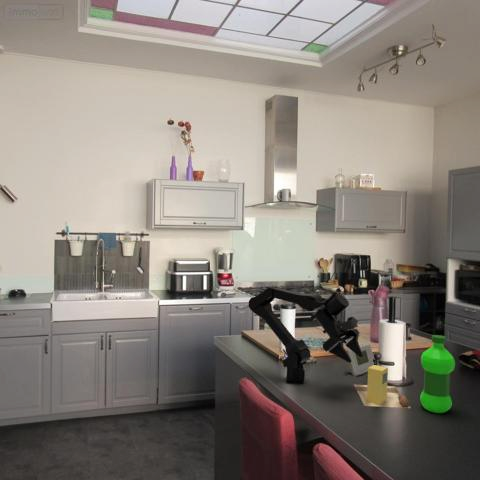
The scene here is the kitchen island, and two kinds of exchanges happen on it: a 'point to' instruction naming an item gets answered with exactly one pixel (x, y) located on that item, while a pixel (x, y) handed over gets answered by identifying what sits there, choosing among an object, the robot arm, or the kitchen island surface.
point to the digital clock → (360, 360)
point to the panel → (391, 402)
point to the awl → (403, 400)
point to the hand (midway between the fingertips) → (356, 359)
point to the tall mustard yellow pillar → (377, 384)
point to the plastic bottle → (437, 376)
